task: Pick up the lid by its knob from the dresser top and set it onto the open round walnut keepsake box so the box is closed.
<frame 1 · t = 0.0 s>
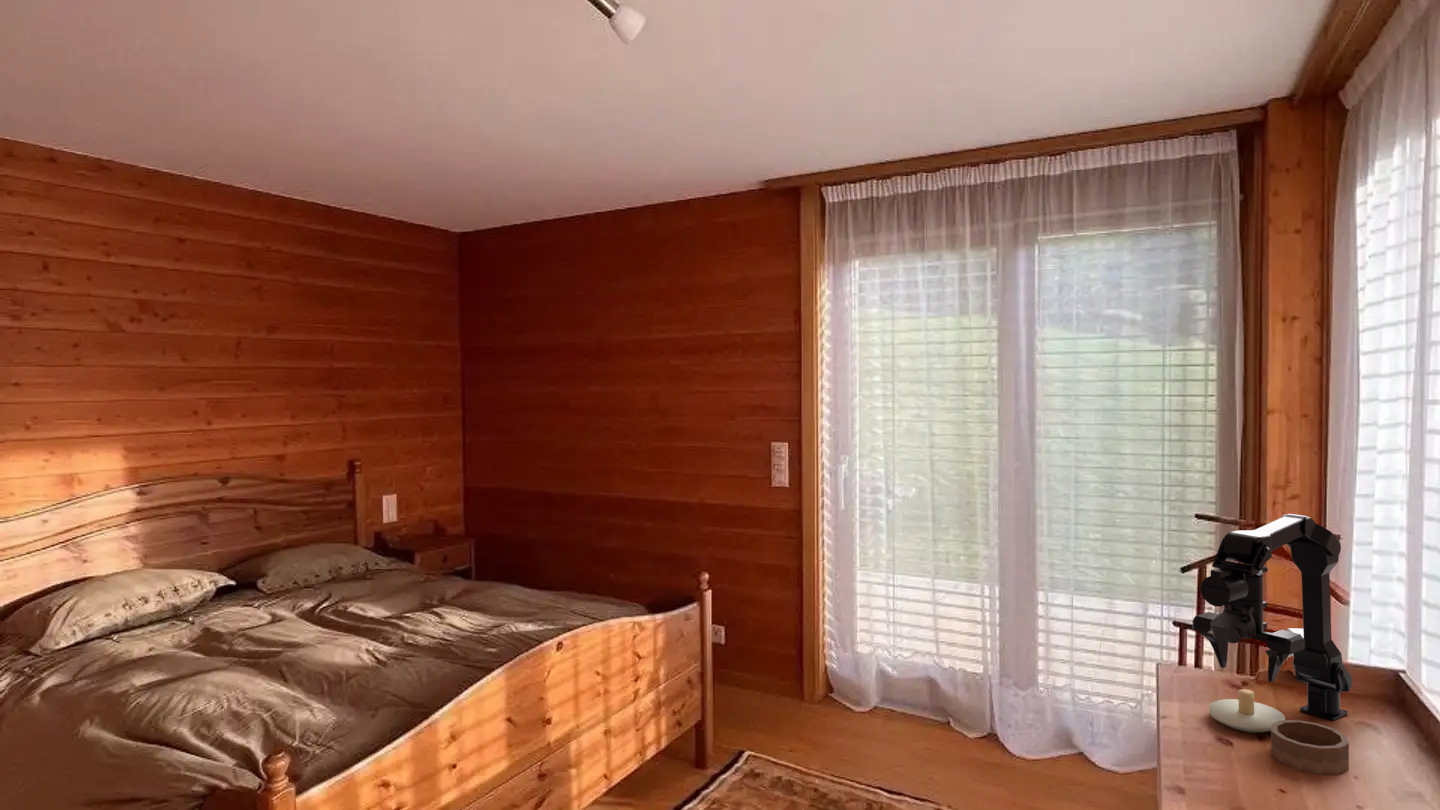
hand: (1246, 674, 166), 15 cm above the table, fingers open, 9 cm apart
small box: (1308, 677, 200), on the table
keepsake box: (1308, 759, 161), on the table
lid: (1246, 723, 177), on the table
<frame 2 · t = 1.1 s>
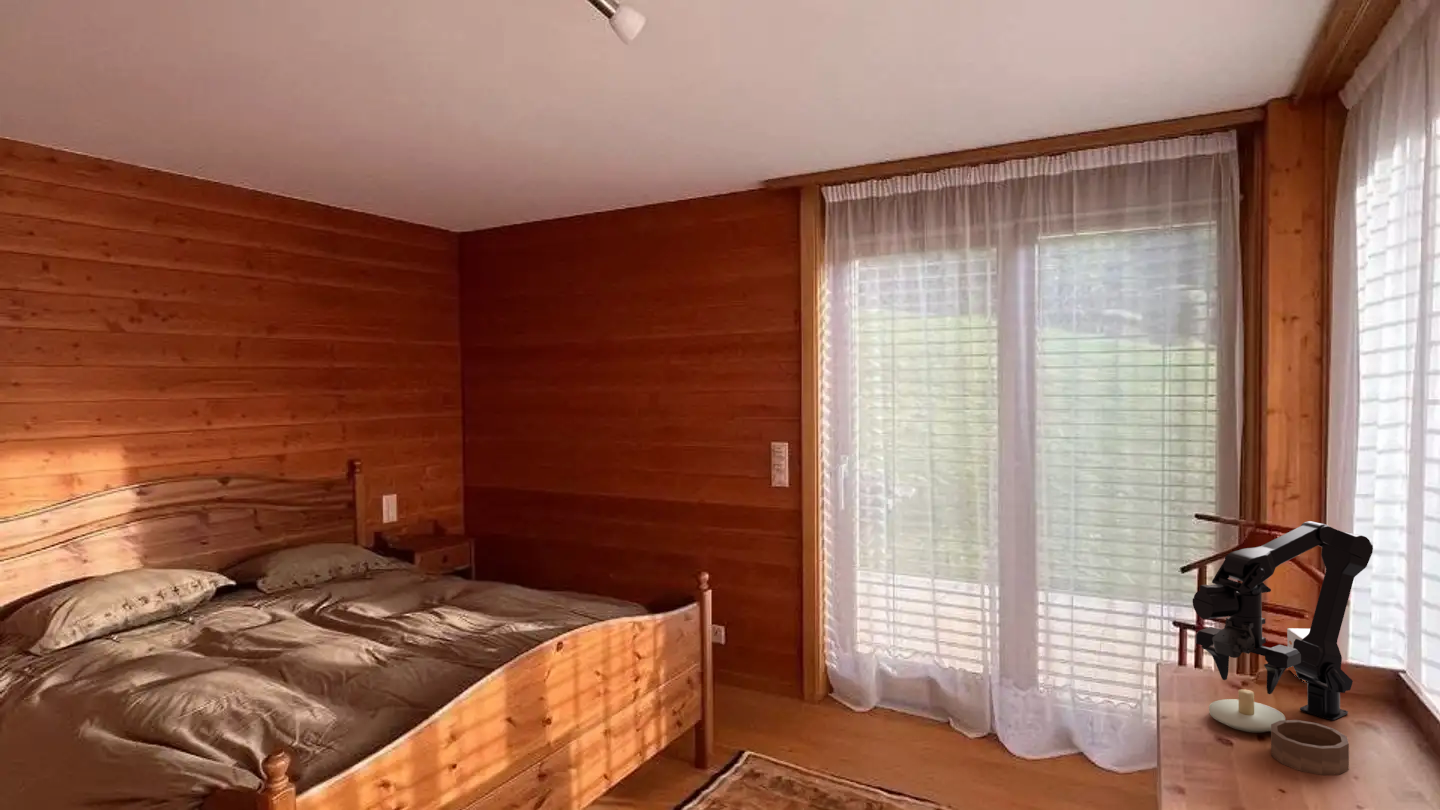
hand: (1246, 686, 177), 8 cm above the table, fingers open, 9 cm apart
nothing on the table moved.
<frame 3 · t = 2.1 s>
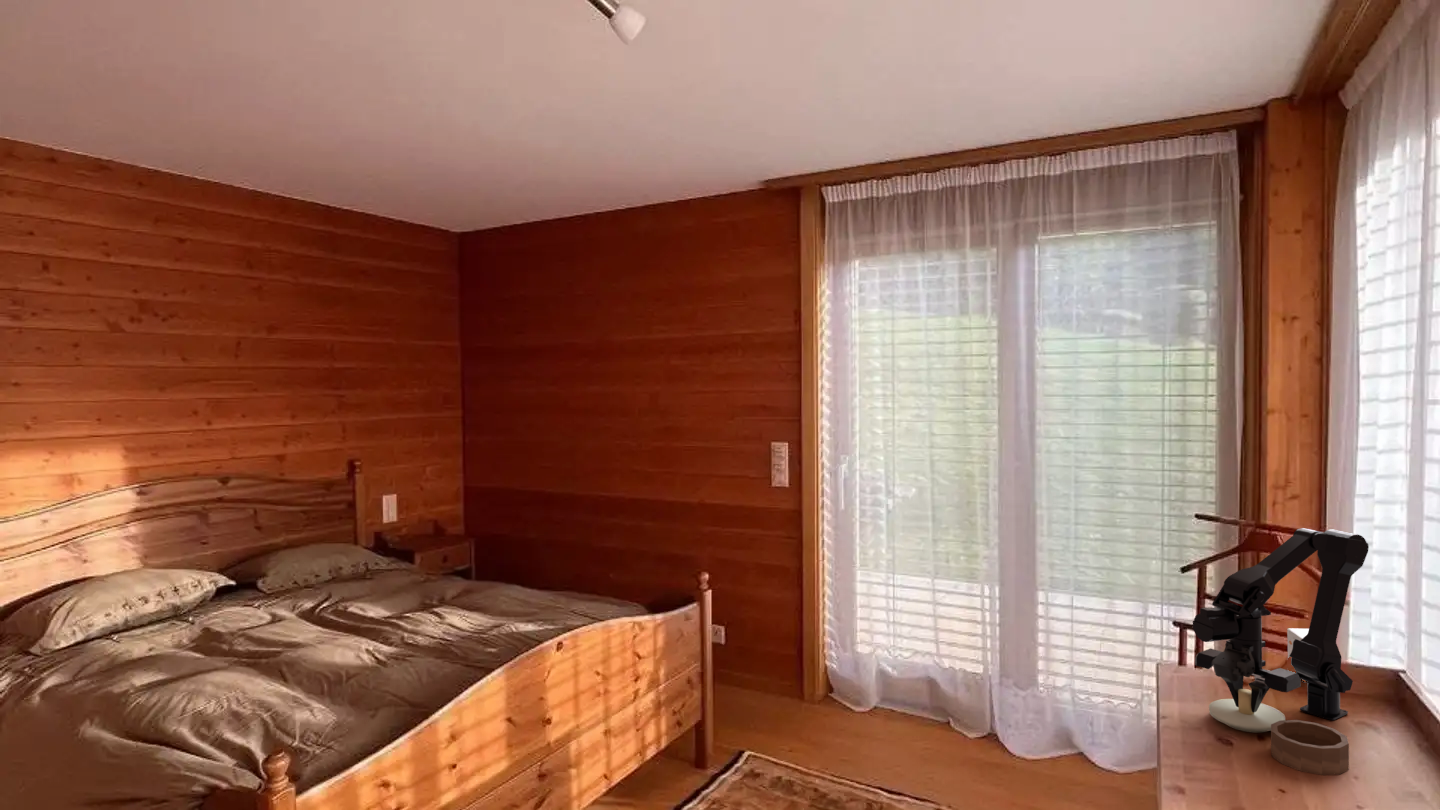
hand: (1246, 709, 177), 3 cm above the table, fingers closed on lid, 3 cm apart
lid: (1246, 723, 177), on the table, touching gripper
everything else where it was.
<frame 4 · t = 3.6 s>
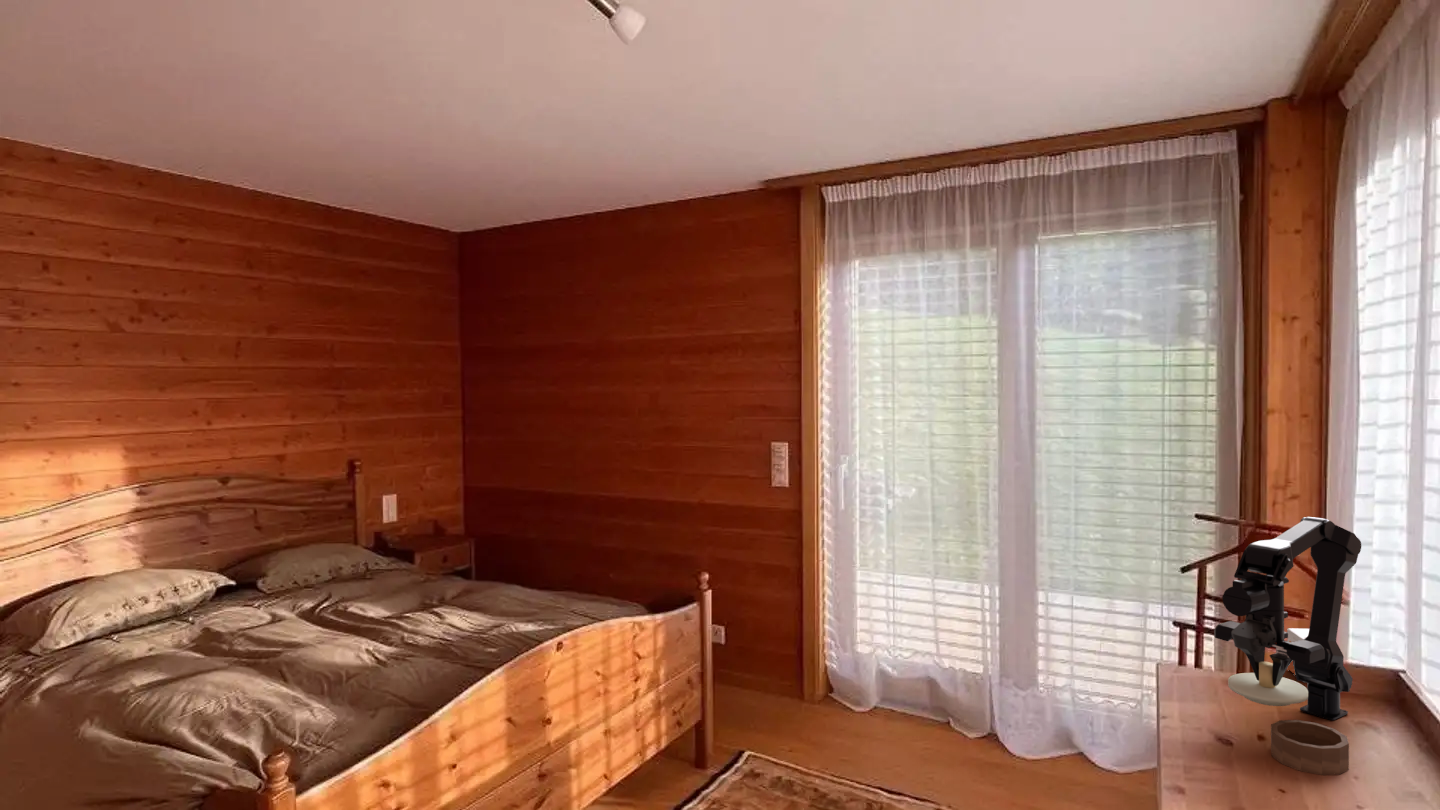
hand: (1267, 682, 170), 11 cm above the table, fingers closed on lid, 3 cm apart
lid: (1267, 697, 171), point 8 cm above the table, touching gripper
everything else where it was.
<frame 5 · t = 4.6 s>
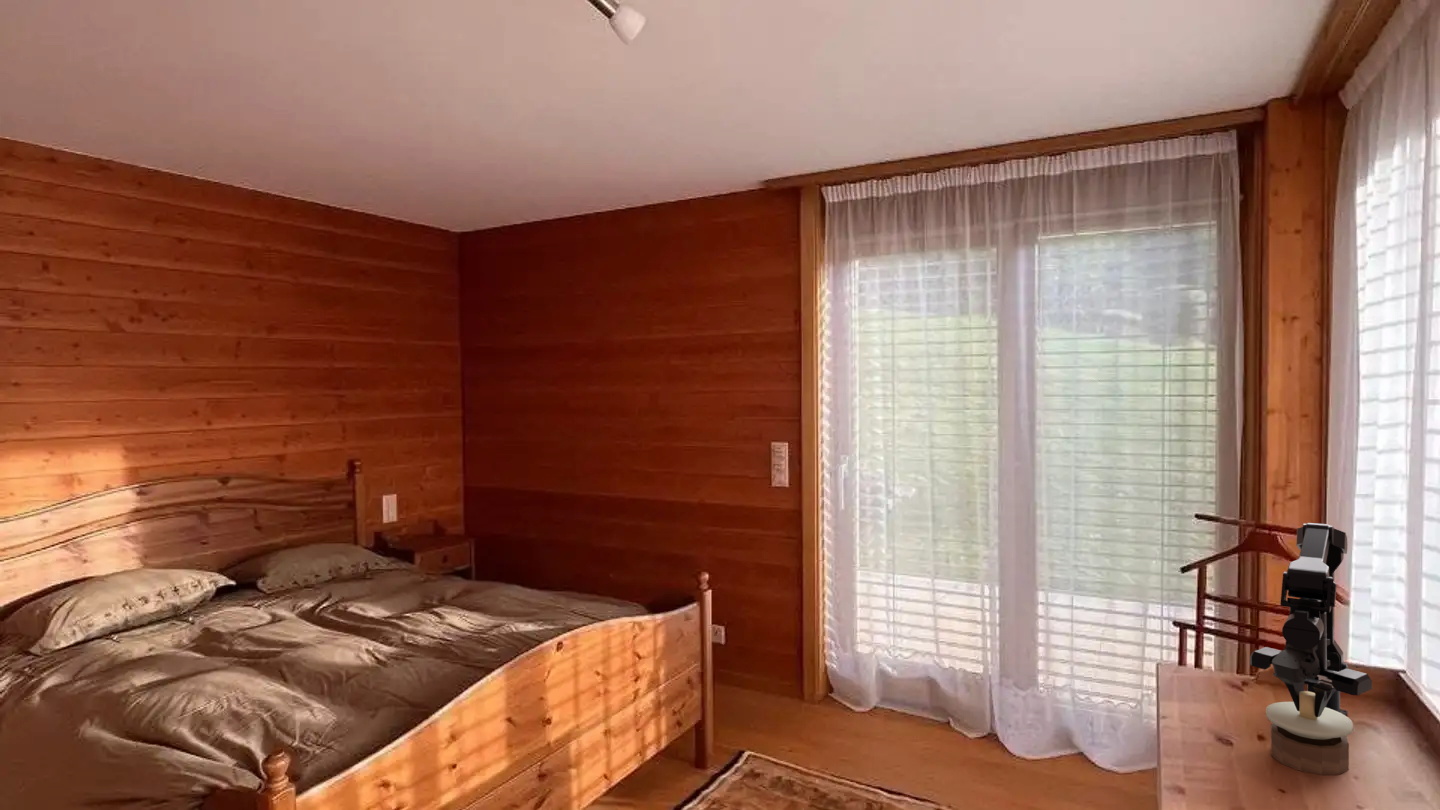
hand: (1308, 713, 161), 9 cm above the table, fingers closed on lid, 3 cm apart
lid: (1308, 729, 161), point 6 cm above the table, touching gripper
everything else where it was.
when the fingers open (7 cm above the table, at t = 5.0 s): lid stays where it is, resting on keepsake box.
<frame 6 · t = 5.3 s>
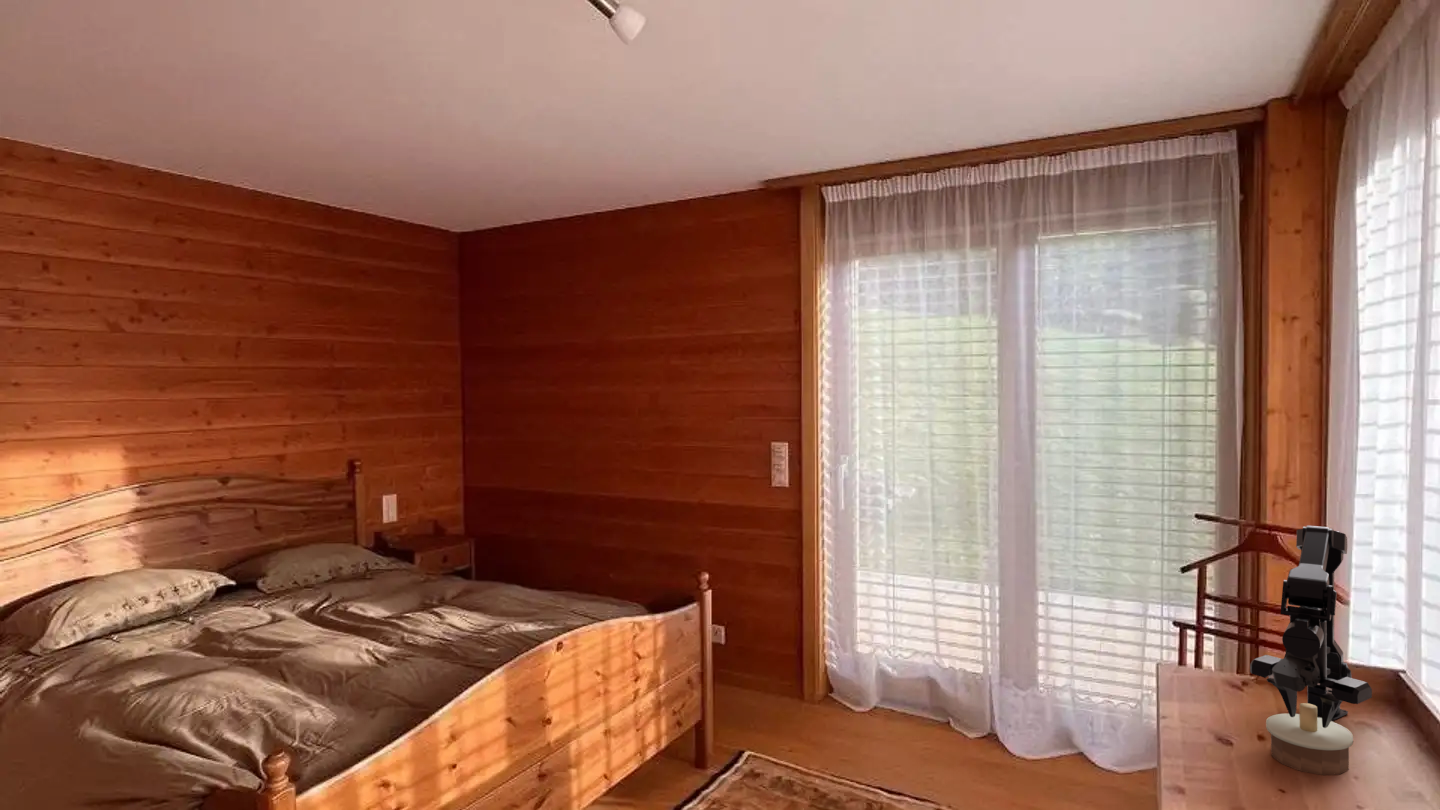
hand: (1308, 721, 161), 7 cm above the table, fingers open, 5 cm apart
lid: (1308, 741, 161), point 3 cm above the table, touching keepsake box
everything else where it was.
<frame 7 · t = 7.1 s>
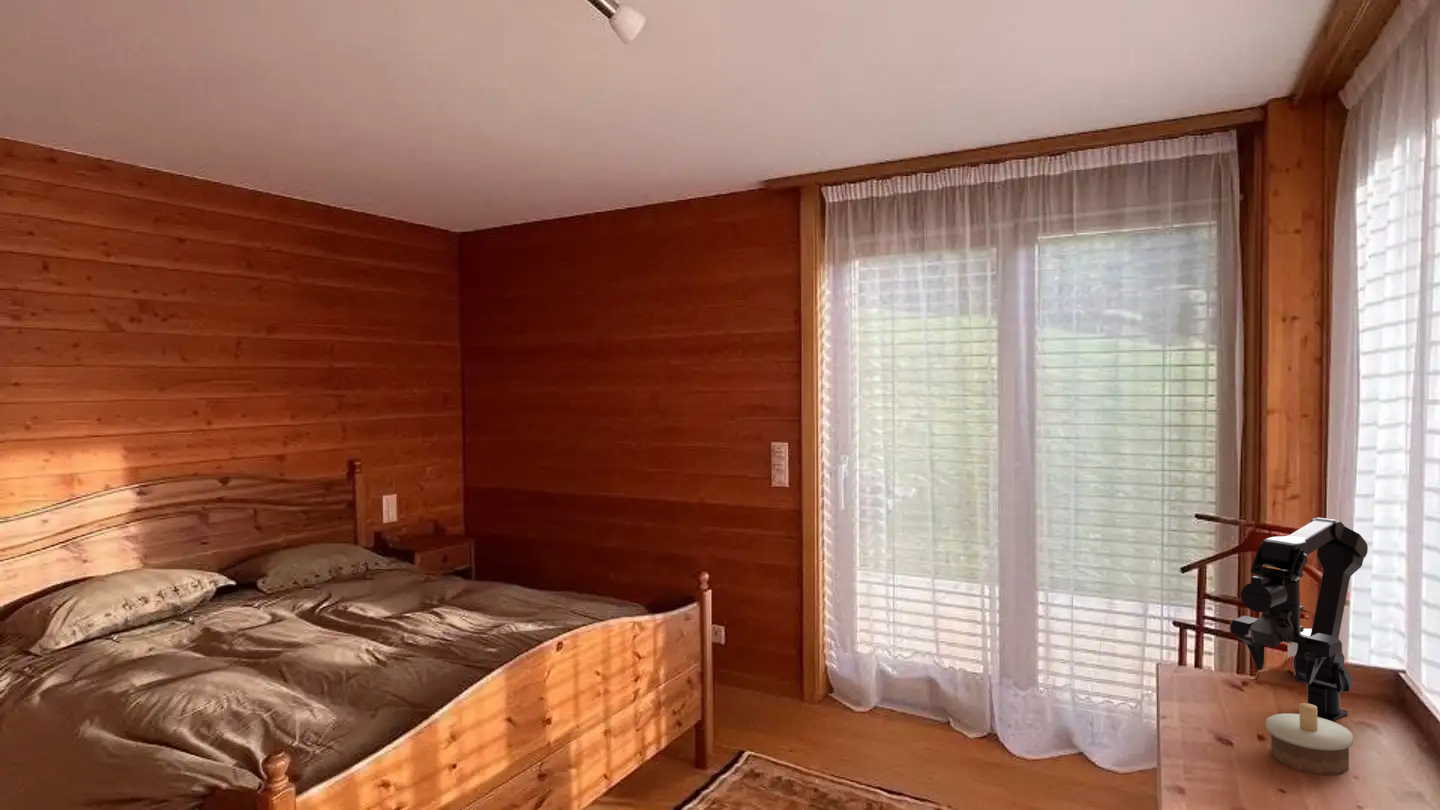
hand: (1284, 676, 172), 12 cm above the table, fingers open, 9 cm apart
nothing on the table moved.
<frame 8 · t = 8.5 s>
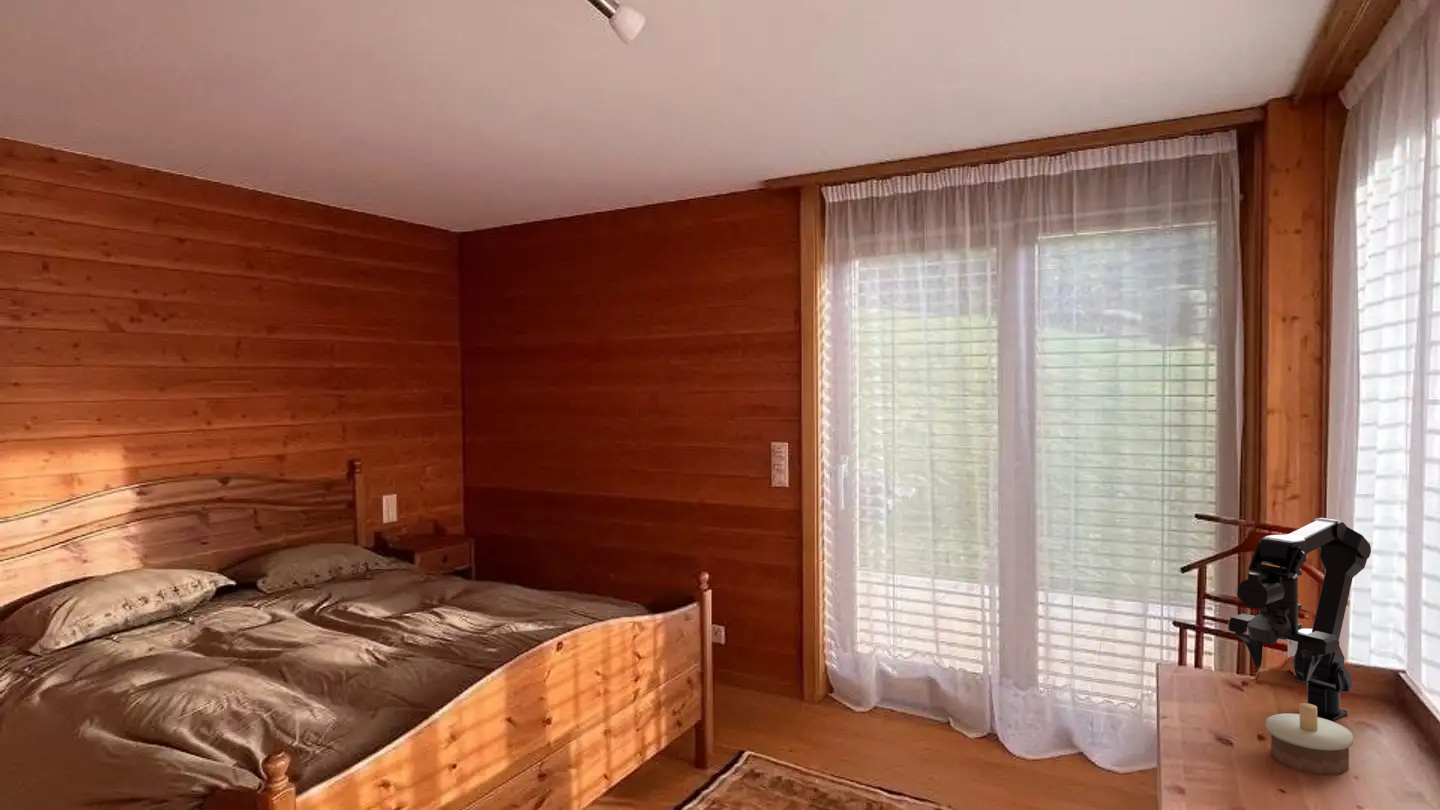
hand: (1281, 674, 172), 12 cm above the table, fingers open, 9 cm apart
nothing on the table moved.
at the end: lid 0.0 cm off-centre on the keepsake box, point 3.5 cm above the keepsake box's base; lid tilted 0°; the gripper is holding nothing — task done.
